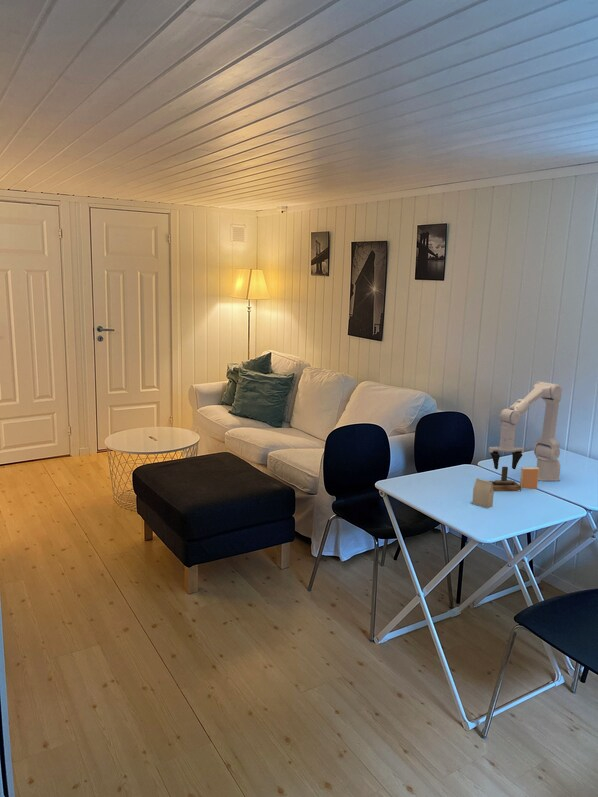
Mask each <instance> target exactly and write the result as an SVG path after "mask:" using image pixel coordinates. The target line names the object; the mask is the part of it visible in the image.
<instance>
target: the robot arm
mask: <svg viewBox="0 0 598 797" xmlns="http://www.w3.org/2000/svg"><path fill="white" fill-rule="evenodd" d="M562 391H563V388H562V387H561V385H560V384H558V383H550V382H546V381H542V380H541V381H539V380H538V381H536V383H535V384H533V387H532V390H531V391H529V393H528V394H527V395H526V396H525V397H524V398H523V399H522V398H519V399H517V400H516V401H515V402H514V403H513V404H511V405H510V406H509V407H507V408H504V409H502V410H501V411H500V413H499V415H498V419H499V425H500V437H499V438H500V439H499V446H498V445H497V446H488V452H489V453H490V456H491V459H492V461H493V468H494V469H495V470H498V469H499V461H500V456H501V455H500V453H512V461H511V462H512V463H511V469H512V470H516V468H517V466H518V463H519V461H520V460H521V458H522V457H523V453H525V447H523V446H515V440H516V428H517V424H518V423H519V422H520V419H521V418H522V416H523V415H524V414H525V413H526V412H527V411H528V410H529V409H530V405H532V404H534V402H536V401H538V400H539V399H540V398H541V399H542V400H543V402H545V406H544V408H545V409H544V416H543V423H542V425H543V426H542V432H541V437H540V438H538V439H536V442H535V445H534V447H533V453H534V455H535V458H537V460H536V467H537V468H539V475H538V482H539V481H540V482H541V481H543V482H546V481H547V482H548V481H551V482H552V481H553V482H554V481H555V482H556V481H558V482H559V481H561V479H560V475H561V474H560V473H561V462H560V460H559V459H558V458H559V457H560V454H561V449H560V443H559V442H558V441H557V440H556V439H555V436H556V429H557V428H556V427H557V422H558V414H559V407H560V402H561V399H562Z"/></svg>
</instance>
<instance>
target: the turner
mask: <svg viewBox="0 0 598 797" xmlns="http://www.w3.org/2000/svg"><path fill="white" fill-rule="evenodd" d="M508 469H509V468H508V466H502V467H501V478H500V479H495V480H494V481H495V485H512V481H513V480H512V479H508V471H509V470H508Z"/></svg>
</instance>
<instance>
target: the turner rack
mask: <svg viewBox="0 0 598 797" xmlns="http://www.w3.org/2000/svg"><path fill="white" fill-rule="evenodd" d="M488 481H489V482H492V483H493V490H494V492H521V491H522V489H521V486H520V483H519V484H518V482H516V481H515V480H512V485H495V480H488ZM518 490H520V491H518Z"/></svg>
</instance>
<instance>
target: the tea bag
mask: <svg viewBox="0 0 598 797" xmlns="http://www.w3.org/2000/svg"><path fill="white" fill-rule="evenodd" d="M489 481H490V480H485V479H480V478H476V479H475V482H474V486H473V490H472V491H473V492H472V501H471V504H473V505H477V506H478V507H479V506H480V507H482V508H486V509H490V508H491V507H493V503H494V493H495V491H494V490H493V483H492V482H489Z"/></svg>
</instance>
